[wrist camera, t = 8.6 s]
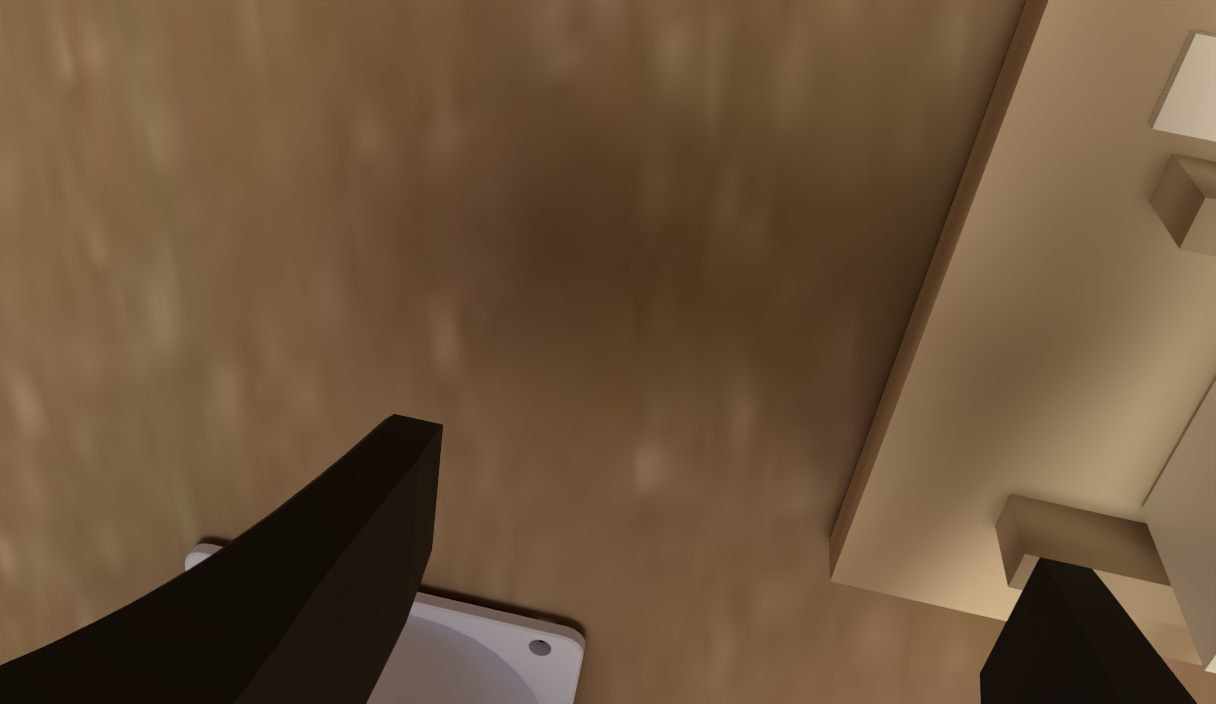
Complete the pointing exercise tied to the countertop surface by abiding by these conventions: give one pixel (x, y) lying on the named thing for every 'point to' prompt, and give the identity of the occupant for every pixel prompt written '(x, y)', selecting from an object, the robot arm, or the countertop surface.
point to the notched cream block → (1190, 527)
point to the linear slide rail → (1055, 326)
